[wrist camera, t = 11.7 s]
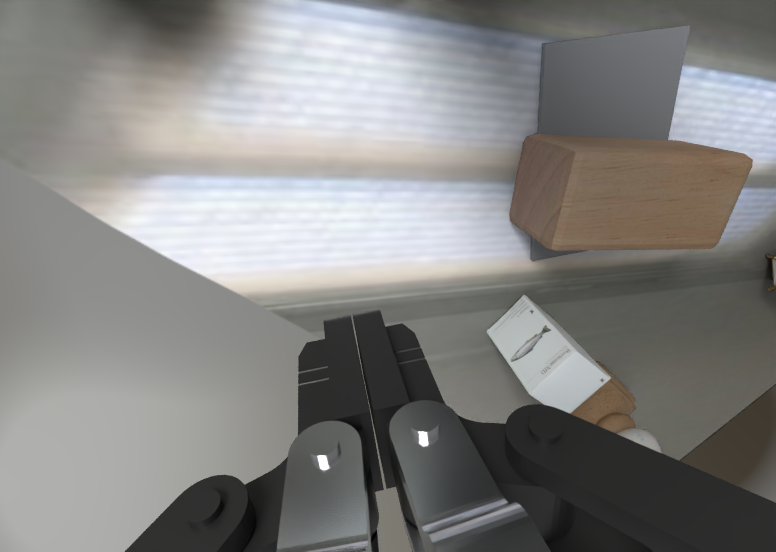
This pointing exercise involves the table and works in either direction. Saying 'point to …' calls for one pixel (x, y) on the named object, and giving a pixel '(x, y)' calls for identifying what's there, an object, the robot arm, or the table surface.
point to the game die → (775, 272)
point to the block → (625, 192)
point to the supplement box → (546, 357)
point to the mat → (610, 89)
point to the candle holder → (615, 412)
